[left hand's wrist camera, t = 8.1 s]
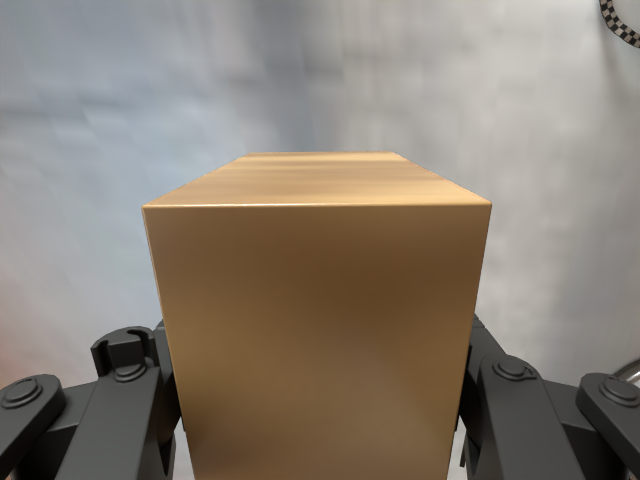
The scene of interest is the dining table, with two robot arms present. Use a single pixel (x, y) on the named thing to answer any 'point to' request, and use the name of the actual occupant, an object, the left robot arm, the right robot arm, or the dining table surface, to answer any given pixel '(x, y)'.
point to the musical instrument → (618, 24)
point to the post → (318, 314)
